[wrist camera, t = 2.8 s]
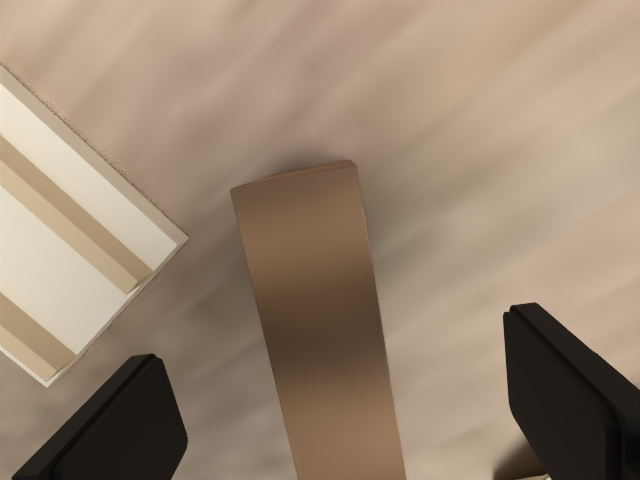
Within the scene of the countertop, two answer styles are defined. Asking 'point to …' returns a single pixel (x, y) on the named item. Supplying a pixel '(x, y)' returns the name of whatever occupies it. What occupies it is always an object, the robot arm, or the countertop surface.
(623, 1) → the countertop surface
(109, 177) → the ledge board
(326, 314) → the brown rectangular panel
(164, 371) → the robot arm
